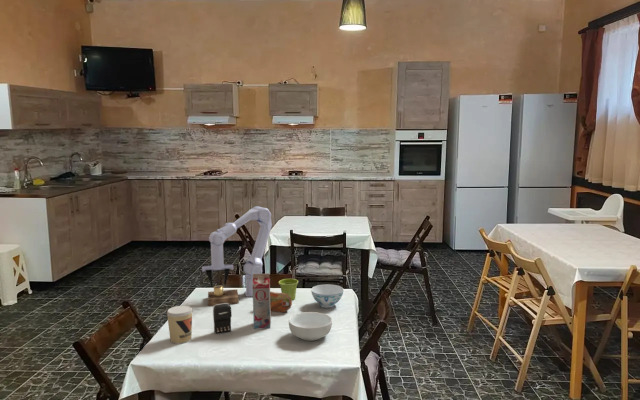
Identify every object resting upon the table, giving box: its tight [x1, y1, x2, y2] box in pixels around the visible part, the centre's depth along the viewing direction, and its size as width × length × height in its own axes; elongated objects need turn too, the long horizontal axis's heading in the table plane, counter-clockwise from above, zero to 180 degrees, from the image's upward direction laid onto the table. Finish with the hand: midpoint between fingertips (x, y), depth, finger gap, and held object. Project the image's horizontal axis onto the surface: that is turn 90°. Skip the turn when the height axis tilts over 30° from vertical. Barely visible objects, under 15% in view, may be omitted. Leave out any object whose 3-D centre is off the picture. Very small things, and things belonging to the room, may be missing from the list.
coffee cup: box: [166, 305, 193, 345], centre depth 176 cm, size 9×9×12 cm
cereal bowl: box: [288, 311, 333, 342], centre depth 178 cm, size 17×17×7 cm
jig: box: [207, 289, 240, 307], centre depth 221 cm, size 14×12×3 cm
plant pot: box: [278, 278, 299, 301], centre depth 222 cm, size 9×9×9 cm
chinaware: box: [310, 283, 345, 309], centre depth 213 cm, size 15×15×8 cm
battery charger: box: [212, 303, 233, 335], centre depth 183 cm, size 7×4×11 cm, turn 114°
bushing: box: [213, 284, 224, 297], centre depth 221 cm, size 4×4×7 cm
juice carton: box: [252, 273, 272, 330], centre depth 189 cm, size 7×7×22 cm
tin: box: [270, 291, 293, 313], centre depth 207 cm, size 15×3×8 cm, turn 68°
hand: (218, 284), depth 220 cm, fingers open, 6 cm apart
